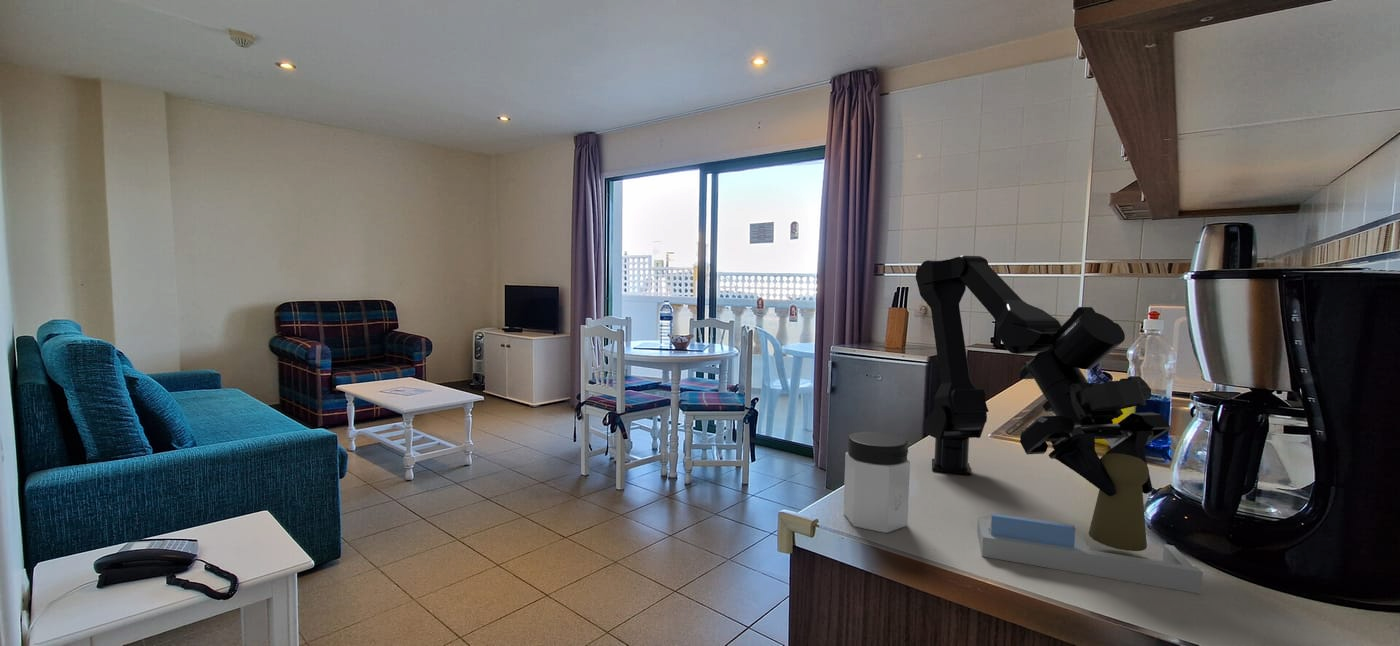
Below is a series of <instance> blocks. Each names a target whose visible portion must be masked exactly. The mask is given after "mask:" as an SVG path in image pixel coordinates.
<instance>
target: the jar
mask: <svg viewBox="0 0 1400 646" xmlns="http://www.w3.org/2000/svg"><path fill="white" fill-rule="evenodd" d="M847 440H848V443H847V451H846V452H845V459H844V462H845V463H844V485H843V486H844V487H843V488H844V489H843V490H844V491H843V514H844V516H845V517H846V519H847V520H848V521H849V523H851V525H852V526H853V527H854V528H858V529H863V530H864V529H865V530H869V531H874V532H878V533H883V534H888V533H890V532H894V531H896V530H899V529H902V528H905V527H907V526H908V522H909V521H908V520H909V498H910V497H909V496H910V472H911V471H910V470H911V469H910V468H911V462H910V460H909V459H908V454H909V447H908V446H909V444H908V443H909V442H908V441H907V439H906V438H904V437H902V436H899V435H897V434H893V433H890V432H889V433H888V432H880V431H858V432H853V433H852V434H849V435H848V439H847Z"/></svg>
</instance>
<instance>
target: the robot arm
mask: <svg viewBox="0 0 1400 646" xmlns="http://www.w3.org/2000/svg"><path fill="white" fill-rule="evenodd" d="M915 280H916V285H917V287H918V288H917V289H918V292H919V295H920V297H921V298H922V299H923V301H924V302H925V303H926V304H927V306H928V307H929V308H930V314H931V320H932V327H933V334H934V340H935V341H934V343H935V350H936V356H937V365H938V370H939V371H938V372H939V378H940V385H939V387H938V389H937V391H936V393H935V394H934V398H933V406H934V407H933V409H934V410H933V411H931V413H930V414H929V415H928V416H927V417H926V419H925V420H924V421H923V429H924V430H923V431H924V433H925V434H926V435H928V436H930V437H932V438H935V439H934V457H933V458H931V471H934V472H942V473H949V474H957V475H967V476H971V475H972V470H971V466H970V463H969V449H970V448H969V446H970V438H971V439H972V438H973V439H975V438H977V439H979V438H980V439H981V437H982V434H983V431H984V428H985V425H986V423H987V420H988V413H989V408H988V405H987V401H986V392H985V389H983V388H977V387H976V386H975V385H974V383H973V382H972V381H971V377H970V369H969V362H968V356H967V350H966V349H967V348H966V343H965V337H964V331H963V322H962V317H961V316H962V314H961V309H960V303H961V301H962V298H963V296H964V294H965V292H966V288H968V290H969V291H970V292H971V294H973V296H974V297H975V298H976V299H977V300H978V301H979V302H980V303H981V305H982V306H983V307H984V308H985V309H986V310H987V312H988V313H989V314H990V316H992V317H993V319H994V320H995V322H996V324H995V326H996V328H995V332H996V334H997V336H998V337H999V339H1000V341H1001V342H1002V344H1003V346H1004V347H1005V349H1006V350H1007V351H1008V352H1010V354H1013V355H1014V354H1015V355H1025V354H1026V355H1027V354H1028V355H1033V354H1035V355H1034V356H1033V357H1032V359H1031V360H1028V361H1027V360H1025V361H1024V360H1023V361H1022V368H1021V369H1020V371H1019V375H1018V376H1019V377H1018V378H1019V379H1020V380H1034V381H1035V382H1036V385H1037V386H1038V388H1039V390H1040V391H1041V393H1042V395H1043V397H1044V398H1045V400H1046V402H1044V404H1042V405H1041V406H1042V407H1043V410H1044V411H1045V413H1047V412H1048V413H1049V412H1053V414H1055V415H1046V416H1045V415H1042V416H1039V417H1038V418H1036V419H1035V421H1033V422H1032V423H1031V424H1030V425H1028V426H1027V427H1026V428H1025V429H1024V430H1023V431H1021V433H1020V438H1019V440H1020V441H1019V443H1020V445H1021V446H1022V448H1023V451H1024V452H1025V454H1026V455H1044V454H1045V453H1047V452H1048V451H1047V450H1048V448H1049V445H1048V443H1047V442H1050V443H1051V447H1052V448H1053V450H1052V451H1051V452H1050V453H1049V454H1048V457H1049V458H1050V459H1051V460H1053V459H1054V460H1056V461H1058V462H1060V463H1061V464H1062V465H1064V466H1065V467H1067V468H1069V469H1070V470H1072V471H1074V472H1075V473H1076V474H1078V475H1079V476H1081V477H1082V478H1084V479H1085V480H1086V481H1087V482H1089V483H1090V484H1091V485H1093V486H1094V487H1095V488H1097V489H1100V490H1101V491H1102V492H1104V493H1105V494H1106V495H1108V496H1113V495H1115V494H1116V493H1117V491H1116V489H1115V487H1114V484H1113V482H1112V480H1111V478H1110V476H1109V475H1108V473H1107V471H1106V469H1105V467H1104V466H1103V464H1102V462H1101V460H1100V458H1101V457H1099V455H1098V454H1097V452H1096V440H1104V441H1106V442H1107V444H1108V445H1109V447H1110V449H1109V450H1107V451H1106V452H1105V453H1104V455H1105V454H1109V453H1118V454H1126V455H1130V456H1134V457H1137V458H1139V459H1141V460H1143V461H1144V462H1145V463H1146V464H1147V457H1146V456H1147V455H1146V445H1148V444H1149V443H1151V442H1152V441H1154V440H1156V439H1157V438H1158V437H1160V436H1161V435H1164V434H1165V433H1166V432H1168V431H1169V430H1171V425H1170V424H1169V423H1168V422H1167V420H1166V419H1165V417H1164V415H1162V414H1161V413H1156V412H1152V411H1150V412H1131V413H1130V414H1129V415H1127V416H1125V418H1123V419H1121V420H1120V421H1119V422H1118V423H1114V421H1113V420H1114V419H1118V418H1120V417H1121V416H1122V415H1124V412H1123V411H1122V410H1124V409H1129V408H1132V407H1133V408H1134V407H1144V406H1147V402H1146V401H1147V400H1150V399H1151V397H1152V388H1151V387H1150V386H1149V385H1148V383H1147V382H1146V381H1145V380H1144V379H1143V378H1142V376H1140V375H1132V376H1127V378H1126V377H1125V378H1120V379H1119V380H1112V381H1111V380H1110V381H1106V382H1102V383H1098V382H1089V381H1088V379H1087V378H1086V376H1085V375H1084V374H1083V372H1082V371H1081V369H1083V370H1091V369H1093V368H1094V367H1096V366H1097V365H1098V364H1099V363H1100V362H1102V361H1103V360H1104V359H1105V358H1107V356H1108V355H1110V354H1111V353H1112V352H1113V351H1115V350H1116V349H1117V348H1118V347H1119V346H1120V345H1121V344H1123V342H1124V341H1125V339H1126V334H1125V332H1124V330H1123V328H1122V327H1121V325H1120V324H1119V323H1118V322H1114V321H1113V320H1112V319H1111V318H1109V317H1107V316H1106V315H1104V314H1101V313H1099V312H1097V311H1095V309H1094V308H1093V307H1092V306H1078V307H1077V308H1076V309H1075V310H1074V311H1073V312H1072V314H1071V316H1070V317H1069V318H1068V319H1067V320H1066V321H1064V323H1063V324H1062V325H1061V323H1060V322H1059V320H1057V319H1056V318H1055V317H1053V316H1052V315H1051V314H1049V313H1048V312H1046V311H1045V310H1043V309H1041V308H1039V307H1037V306H1035V305H1032V304H1028V303H1027V302H1026V301H1024V300H1023V299H1022V298H1021V297H1020V296H1019V295H1018V294H1017V293H1016V292H1015V291H1014V290H1013V289H1012V288H1011V286H1009V285H1008V284H1007V283H1006V281H1004V279H1002V277H1000V276H999V275H998V274H997V272H996V271H995V270H994V269H993V268H992V267H991V266H990V265H989V262H988V260H987V258H985V257H983V256H980V255H958V256H956V257H953V258H950V259H945V260H925V261H923V262H922V263H921V265H920V266H918V267H917V269H916V272H915ZM1147 465H1148V464H1147ZM1142 490H1143V495H1144V494H1145V495H1147V494H1150V493H1152V492H1153V485H1152V480H1151V476H1150V474H1149V477H1148V479H1147V481H1146V483H1144V484H1143V485H1142Z"/></svg>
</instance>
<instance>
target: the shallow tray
mask: <svg viewBox="0 0 1400 646" xmlns="http://www.w3.org/2000/svg"><path fill="white" fill-rule="evenodd" d="M990 516H991V518H990V527H989V526H988V521H987V518H986V517H982V516H977V525H976V526H977V529H976V533H977V538H978V541H979V546H980V547H979V549H980V553H981V557H985V558H990V559H996V560H1001V561H1008V562H1012V563H1019V564H1025V565H1031V566H1036V567H1041V568H1047V569H1054V570H1059V571H1066V572H1071V573H1072V572H1073V573H1077V574H1082V575H1089V576H1094V577H1095V576H1096V577H1102V578H1106V579H1112V580H1118V581H1119V580H1120V581H1124V582H1128V583H1129V582H1130V583H1135V584H1143V585H1148V586H1153V587H1159V588H1163V589H1164V588H1165V589H1171V590H1178V591H1183V592H1187V593H1193V594H1200V595H1201V594H1202V586H1203V575H1204V574H1203V570H1201V569H1200V567H1198V566H1193V564H1191V562H1189V561H1188V560H1187V558H1186V557H1185V556H1184V555H1183V554H1182V553H1181V552H1180V551H1179V550H1178V549H1177V548H1176V547H1175V545H1171V544H1163V550H1162V560H1161V561H1160V560H1154V559H1148V558H1147V559H1146V558H1142V557H1136V556H1135V557H1134V556H1129V555H1123V554H1116V553H1111V552H1110V553H1109V552H1105V551H1104V552H1103V551H1097V550H1091V549H1090V547H1089V545H1088V544H1087V542H1086V540H1085V538H1084V536H1082V534H1081V532H1080V531H1076V527H1075V525H1073V524H1068V523H1067V524H1066V523H1060V522H1053V521H1045V520H1039V519H1033V518H1025V517H1019V516H1011V515H1005V514H998V513H991V515H990Z"/></svg>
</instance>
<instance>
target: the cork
mask: <svg viewBox="0 0 1400 646" xmlns="http://www.w3.org/2000/svg"><path fill="white" fill-rule="evenodd" d="M1099 458H1100V460H1101V462H1102V464H1103V466H1104V467H1105V469H1106V471H1107V473H1108V475H1109V476H1110V478H1111V480H1112V482H1113V484H1114V487H1115V489H1116V491H1117V493H1116V494H1115V495H1113V496H1108V495H1106V494H1105V493H1104V492H1102V491H1101V490H1100V489H1099V490H1098V494H1097V498H1096V502H1095V506H1094V510H1093V514H1092V517H1091V521H1090V522H1091V523H1090V526H1089V528H1088V529H1089V531H1088V535H1089V537H1090V538H1091V539H1092V540H1094V541H1095V542H1097V543H1099V544H1101V545H1104V546H1106V547H1110V548H1114V549H1117V550H1122V551H1127V552H1142V551H1145V550H1146V549H1147V547H1148V543H1147V541H1148V540H1147V530H1146V529H1147V528H1146V519H1145V518H1146V517H1145V507H1144V506H1145V504H1144V493H1143V490H1142V485H1143V484H1144V483H1146V481H1147V479H1148V477H1149V475H1150V469H1149V467H1148V464H1146V463H1145V462H1144V461H1143V460H1141V459H1139V458H1137V457H1134V456H1130V455H1126V454H1118V453H1109V454H1105V453H1104V454H1103V455H1102V456H1101V457H1099Z"/></svg>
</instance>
